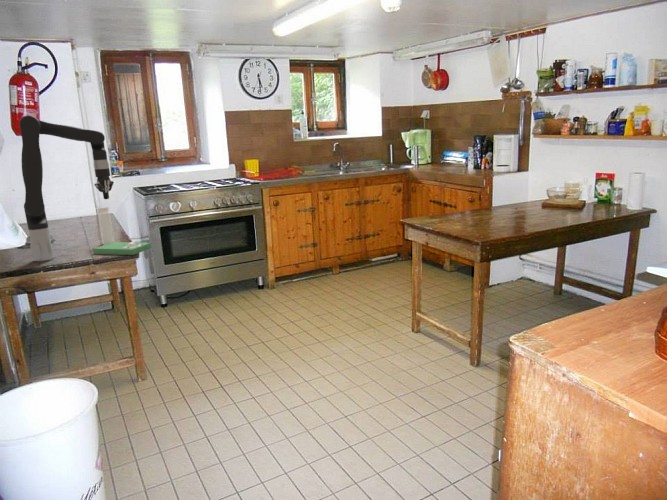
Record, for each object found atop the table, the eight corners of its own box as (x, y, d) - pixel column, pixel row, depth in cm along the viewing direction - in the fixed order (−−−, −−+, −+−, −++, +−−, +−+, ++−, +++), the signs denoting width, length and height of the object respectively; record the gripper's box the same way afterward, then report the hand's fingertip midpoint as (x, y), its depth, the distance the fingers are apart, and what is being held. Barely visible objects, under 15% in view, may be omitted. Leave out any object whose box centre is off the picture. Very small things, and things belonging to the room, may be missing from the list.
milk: (102, 243, 300) (96, 208, 295) (113, 242, 304) (107, 206, 299) (104, 245, 296) (98, 208, 290) (115, 243, 299) (109, 207, 294)
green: (133, 254, 267) (132, 249, 267) (93, 253, 275) (92, 248, 274) (151, 247, 282) (150, 242, 282) (113, 247, 289) (112, 242, 289)
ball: (132, 243, 272) (124, 243, 274) (133, 252, 274) (125, 252, 275) (138, 241, 277) (130, 241, 278) (139, 250, 278) (131, 249, 280)
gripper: (98, 168, 266) (103, 200, 270) (115, 166, 279) (120, 197, 283) (87, 169, 268) (92, 200, 273) (104, 167, 281) (109, 197, 285)
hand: (106, 199), depth 278 cm, fingers closed
